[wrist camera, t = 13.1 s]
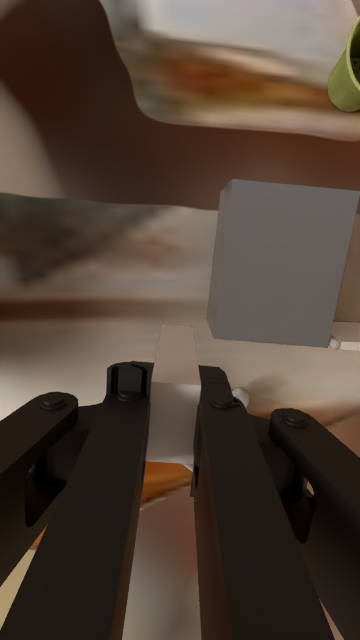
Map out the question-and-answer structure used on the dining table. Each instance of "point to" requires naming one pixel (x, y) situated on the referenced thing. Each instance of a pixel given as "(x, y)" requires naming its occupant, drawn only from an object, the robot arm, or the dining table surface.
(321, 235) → the box housing
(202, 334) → the dining table surface
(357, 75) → the plant pot
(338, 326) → the door
